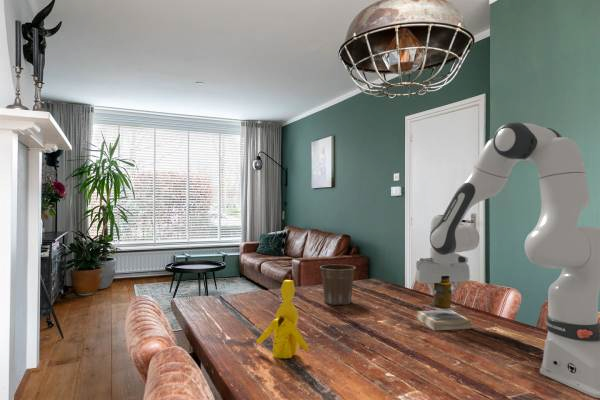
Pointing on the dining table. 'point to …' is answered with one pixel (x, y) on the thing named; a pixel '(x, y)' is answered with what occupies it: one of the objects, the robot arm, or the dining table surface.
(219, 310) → the dining table surface
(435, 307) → the condiment
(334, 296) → the plant pot
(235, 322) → the dining table surface
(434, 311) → the base
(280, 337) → the figure statuette
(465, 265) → the robot arm
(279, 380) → the dining table surface
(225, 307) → the dining table surface
